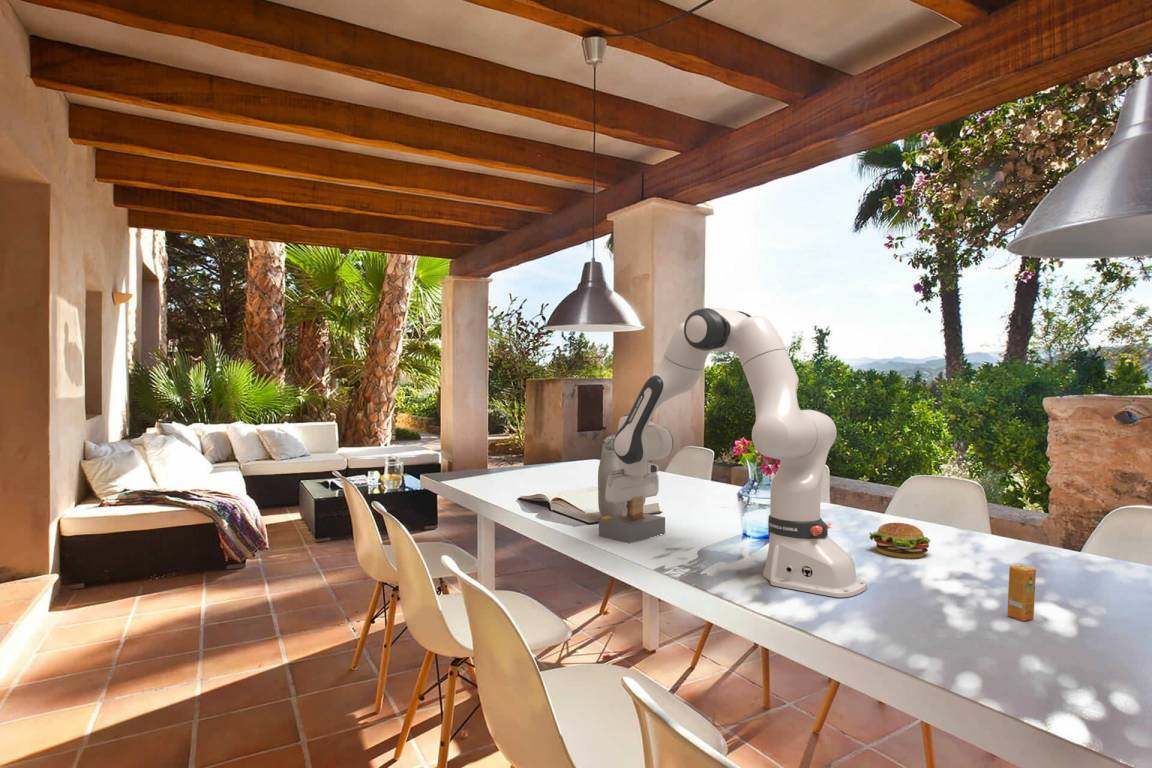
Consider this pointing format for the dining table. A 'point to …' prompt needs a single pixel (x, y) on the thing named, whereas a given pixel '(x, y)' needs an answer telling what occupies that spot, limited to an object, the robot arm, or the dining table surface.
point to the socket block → (631, 527)
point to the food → (900, 540)
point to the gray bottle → (605, 467)
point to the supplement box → (1021, 592)
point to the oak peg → (634, 509)
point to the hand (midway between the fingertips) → (632, 514)
